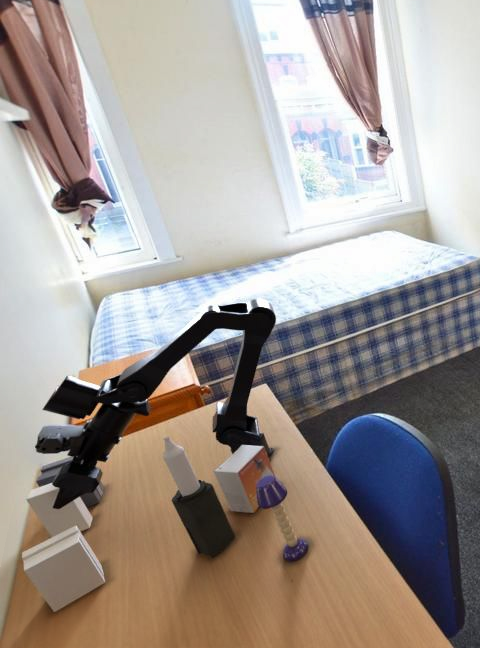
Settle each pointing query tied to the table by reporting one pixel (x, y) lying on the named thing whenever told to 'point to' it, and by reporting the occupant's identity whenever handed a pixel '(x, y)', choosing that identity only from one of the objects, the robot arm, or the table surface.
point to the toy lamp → (280, 515)
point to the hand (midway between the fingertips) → (62, 493)
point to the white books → (63, 568)
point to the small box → (243, 477)
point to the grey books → (51, 471)
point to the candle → (197, 504)
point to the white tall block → (58, 511)
